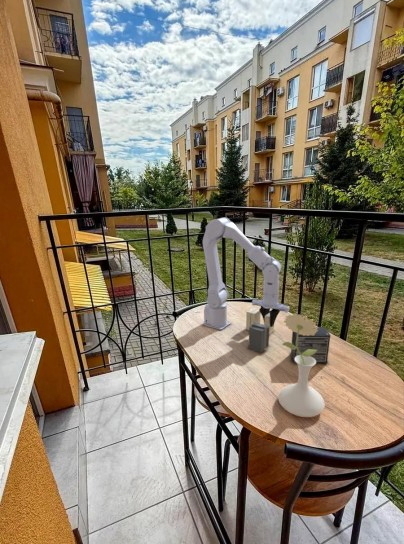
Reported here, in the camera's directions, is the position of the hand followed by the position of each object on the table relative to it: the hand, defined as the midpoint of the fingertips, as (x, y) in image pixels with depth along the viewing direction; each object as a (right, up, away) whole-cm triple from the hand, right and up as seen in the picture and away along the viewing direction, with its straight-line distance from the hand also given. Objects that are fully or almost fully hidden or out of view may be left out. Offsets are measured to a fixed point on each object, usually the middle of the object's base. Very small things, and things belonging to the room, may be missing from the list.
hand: (269, 325), depth 111 cm
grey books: (-6, -7, -9) cm, 13 cm away
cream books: (-5, -2, +5) cm, 8 cm away
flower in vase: (-1, -18, -37) cm, 41 cm away
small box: (+9, -10, -17) cm, 22 cm away
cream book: (0, -3, +1) cm, 3 cm away
